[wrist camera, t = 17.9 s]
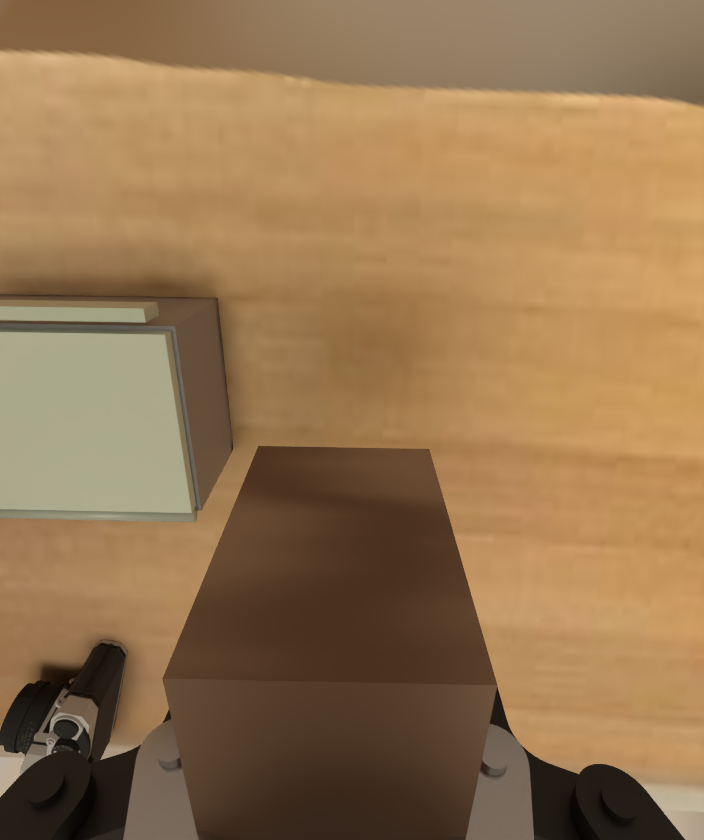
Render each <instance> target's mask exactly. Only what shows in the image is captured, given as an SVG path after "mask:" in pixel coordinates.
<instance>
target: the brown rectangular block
mask: <svg viewBox="0 0 704 840" xmlns="http://www.w3.org/2000/svg"><path fill="white" fill-rule="evenodd" d="M163 683H164V687H165V692H166V696H167V701H168V705H169V710H170V714H171V719H172V723H173V728H174V732H175V737H176V741H177V746H178V750H179V755H180V759H181V764H182V769H183V773H184V778H185V782H186V787H187V791H188V796H189V800H190V805H191V809H192V814H193V818H194V823H195V827H196V831H208V833H209V838H210V840H450V836H451V837H466V835H467V830H468V826H469V821H470V816H471V811H472V806H473V801H474V796H475V792H476V787H477V782H478V777H479V772H480V767H481V762H482V758H483V753H484V748H485V743H486V738H487V733H488V728H489V723H490V719H491V714H492V709H493V704H494V699H495V694H496V689H497V683H496V679H495V676H494V672H493V669H492V665H491V662H490V658H489V655H488V651H487V648H486V644H485V641H484V637H483V634H482V631H481V627H480V624H479V620H478V617H477V613H476V610H475V606H474V603H473V599H472V596H471V592H470V589H469V586H468V582H467V579H466V575H465V572H464V568H463V565H462V561H461V558H460V554H459V551H458V547H457V544H456V540H455V537H454V534H453V530H452V527H451V523H450V520H449V516H448V513H447V509H446V506H445V502H444V499H443V495H442V492H441V489H440V485H439V482H438V478H437V475H436V471H435V468H434V464H433V461H432V457H431V454H430V450H429V449H391V448H334V447H276V446H258V449H257V451H256V453H255V456H254V458H253V461H252V463H251V466H250V468H249V470H248V473H247V475H246V478H245V480H244V483H243V485H242V487H241V490H240V492H239V495H238V497H237V500H236V502H235V504H234V507H233V509H232V512H231V514H230V517H229V519H228V521H227V524H226V526H225V529H224V531H223V533H222V536H221V538H220V541H219V543H218V546H217V548H216V550H215V553H214V555H213V558H212V560H211V563H210V565H209V567H208V570H207V572H206V575H205V577H204V580H203V582H202V584H201V587H200V589H199V592H198V594H197V596H196V599H195V601H194V604H193V606H192V609H191V611H190V613H189V616H188V618H187V621H186V623H185V626H184V628H183V630H182V633H181V635H180V638H179V640H178V643H177V645H176V647H175V650H174V652H173V655H172V657H171V659H170V662H169V664H168V667H167V669H166V672H165V674H164V676H163Z"/></svg>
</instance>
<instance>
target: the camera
mask: <svg viewBox="0 0 704 840" xmlns="http://www.w3.org/2000/svg"><path fill="white" fill-rule="evenodd" d="M127 654H128V651H127V650H126V648H125V647H124V646H123V644H122V643H118V642H113V641H109V640H104V639H103V640H101V641H100V642H99V643H98V644H96V646H95V647H94V648H93V650H92V651H91V654H90V656H89V657H88V659H87V661H86V662H85V664H84V666H83V667H82V669H81V671H80V672H79V674H78V675H77V677H76V678H72V679H71V680H70V681H69V682H67V683H61V682H60V683H58V684H54V685H51V683H50V682H46V681H41V680H39V681H37V682H36V683H34V684H32V683H29V684H27V685H26V686H25V687H24V688H23V689H22V690H21V691H20V693H19V694H18V695H17V697H16V698H15V700H14V702H13V703H12V705H11V707H10V709H9V711H8V713H7V715H6V717H5V719H4V722H3V724H2V727H1V730H0V745H3V746H4V750H5V751H6V752H12V753H18V752H22V753H23V754H25V759H24V761H23V763H22V766H21V771H20V775H21V774H22V773H23V772H24V771H25V770H26V769H28V768H29V767H30V766H31V765H33V764H34V763H35V762H37V761H38V760H40V759H42V758H43V757H45V756H47V755H50V754H52V753H55V752H59V751H66V750H70V751H76V752H79V753H81V754H82V755H84V756H85V757H86V759H87V760H88V762H89V764H90V763H93V762H97V761H100V759H101V757H102V755H103V753H104V751H105V749H106V747H107V745H108V743H109V741H110V738H111V736H112V731H113V725H114V720H115V715H116V710H117V705H118V700H119V695H120V690H121V684H122V679H123V674H124V669H125V664H126V659H127Z"/></svg>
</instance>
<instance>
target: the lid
mask: <svg viewBox="0 0 704 840" xmlns="http://www.w3.org/2000/svg"><path fill="white" fill-rule="evenodd" d="M157 316H159V312H158V305H157V302H109V301H46V300H0V320H23V321H84V322H145V323H146V322H148V321H149V320H151V319H153V318H155V317H157ZM195 506H196V502H195V495H194V488H193V481H192V474H191V467H190V461H189V454H188V447H187V440H186V433H185V426H184V419H183V412H182V406H181V399H180V392H179V385H178V378H177V371H176V364H175V357H174V350H173V344H172V337H171V331H148V330H88V329H27V328H0V518H14V519H61V520H109V521H157V522H195V521H196V519H197V510H196V509H194V508H195Z"/></svg>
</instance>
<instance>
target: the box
mask: <svg viewBox="0 0 704 840" xmlns="http://www.w3.org/2000/svg"><path fill="white" fill-rule="evenodd" d="M0 300H46V301H109V302H157V305H158V312H159V316H157V317H155V318H153V319H151V320H149V321H148V322H146V323H145V322H84V321H23V320H0V328H27V329H88V330H148V331H171V337H172V344H173V350H174V357H175V364H176V371H177V378H178V385H179V392H180V399H181V406H182V412H183V419H184V426H185V433H186V440H187V447H188V454H189V461H190V467H191V474H192V481H193V488H194V495H195V502H196V506H195V508H194V509H196V510H197V511H201V510H202V508H203V506H204V504H205V502H206V500H207V498H208V497H209V495H210V493H211V491H212V489H213V487H214V485H215V483H216V481H217V479H218V477H219V475H220V473H221V472H222V470H223V468H224V466H225V464H226V462H227V460H228V458H229V456H230V454H231V452H232V450H233V443H232V434H231V424H230V415H229V405H228V395H227V386H226V376H225V366H224V357H223V347H222V338H221V328H220V318H219V309H218V299H217V298H185V297H122V296H59V295H0Z"/></svg>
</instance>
